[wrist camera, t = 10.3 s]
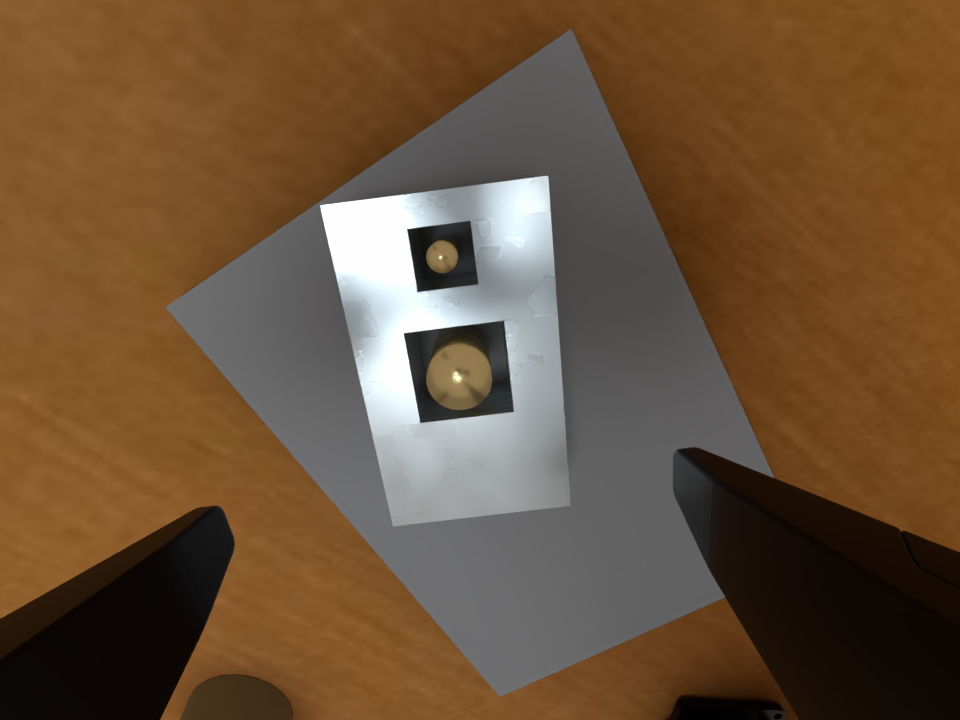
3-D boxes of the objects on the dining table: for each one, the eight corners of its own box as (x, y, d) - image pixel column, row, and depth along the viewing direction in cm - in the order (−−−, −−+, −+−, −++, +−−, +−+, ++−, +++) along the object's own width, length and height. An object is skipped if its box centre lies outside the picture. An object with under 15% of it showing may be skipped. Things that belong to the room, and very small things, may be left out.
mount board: (797, 544, 23) (811, 559, 22) (498, 678, 26) (500, 696, 25) (565, 39, 16) (571, 28, 15) (180, 302, 19) (165, 307, 18)
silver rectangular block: (556, 463, 20) (570, 505, 18) (403, 481, 20) (393, 526, 18) (534, 180, 16) (548, 175, 14) (345, 205, 17) (320, 205, 14)
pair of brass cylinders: (491, 369, 19) (495, 405, 15) (438, 375, 19) (432, 413, 15) (473, 231, 17) (474, 237, 14) (416, 239, 17) (402, 247, 14)
